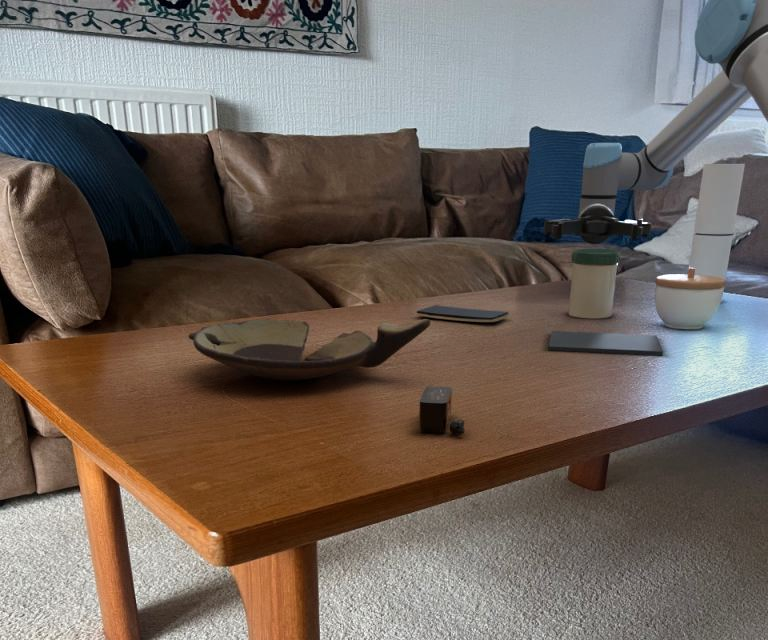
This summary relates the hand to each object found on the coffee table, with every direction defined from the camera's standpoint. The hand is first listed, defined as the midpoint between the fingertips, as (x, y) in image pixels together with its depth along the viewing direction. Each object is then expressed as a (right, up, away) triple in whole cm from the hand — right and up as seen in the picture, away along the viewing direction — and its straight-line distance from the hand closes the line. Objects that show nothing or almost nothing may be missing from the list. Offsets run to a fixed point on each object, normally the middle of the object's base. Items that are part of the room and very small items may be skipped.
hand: (597, 232), depth 145 cm
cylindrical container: (+24, -10, +11) cm, 28 cm away
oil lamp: (-50, -35, -45) cm, 76 cm away
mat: (-7, -27, -28) cm, 39 cm away
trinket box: (+11, -21, -14) cm, 28 cm away
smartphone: (-26, -18, -7) cm, 32 cm away
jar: (-2, -16, -4) cm, 17 cm away
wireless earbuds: (-34, -44, -65) cm, 85 cm away
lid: (-2, -7, -8) cm, 11 cm away
